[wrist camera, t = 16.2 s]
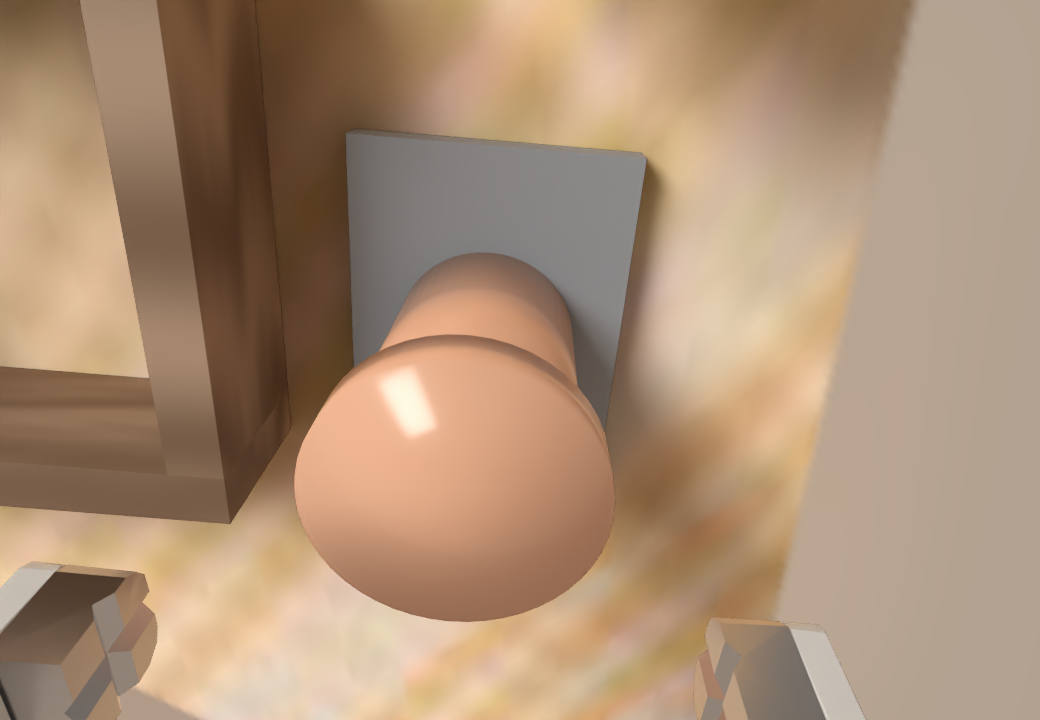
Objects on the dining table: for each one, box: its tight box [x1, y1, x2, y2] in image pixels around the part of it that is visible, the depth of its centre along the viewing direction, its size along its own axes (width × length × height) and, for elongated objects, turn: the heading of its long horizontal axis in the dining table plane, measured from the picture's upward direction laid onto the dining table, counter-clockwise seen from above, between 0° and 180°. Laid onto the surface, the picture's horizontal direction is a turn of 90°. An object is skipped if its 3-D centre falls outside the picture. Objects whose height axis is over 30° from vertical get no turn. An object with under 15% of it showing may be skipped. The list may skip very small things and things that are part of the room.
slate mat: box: [346, 129, 647, 433], centre depth 21 cm, size 11×8×1 cm
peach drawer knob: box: [294, 252, 615, 622], centre depth 17 cm, size 6×6×8 cm
